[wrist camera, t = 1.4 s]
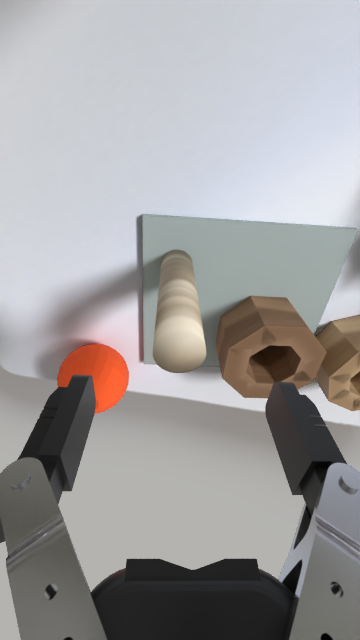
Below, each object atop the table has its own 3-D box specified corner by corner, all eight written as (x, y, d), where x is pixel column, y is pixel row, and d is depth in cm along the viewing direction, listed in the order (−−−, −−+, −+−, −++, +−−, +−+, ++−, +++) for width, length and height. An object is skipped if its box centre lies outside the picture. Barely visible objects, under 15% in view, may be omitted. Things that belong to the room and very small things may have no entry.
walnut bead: (224, 294, 26) (234, 324, 22) (311, 298, 26) (338, 328, 22) (212, 361, 31) (218, 396, 26) (286, 364, 31) (304, 399, 27)
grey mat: (143, 213, 22) (142, 215, 22) (354, 227, 23) (358, 229, 23) (144, 360, 31) (143, 363, 31) (297, 365, 32) (299, 369, 32)
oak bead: (307, 327, 29) (329, 358, 25) (393, 307, 28) (432, 336, 24) (308, 381, 34) (328, 415, 29) (382, 366, 32) (413, 399, 28)
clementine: (114, 390, 34) (101, 443, 28) (58, 369, 32) (32, 422, 26) (143, 346, 30) (136, 397, 24) (83, 320, 28) (58, 368, 22)
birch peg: (161, 248, 23) (152, 330, 13) (194, 250, 23) (209, 333, 13) (160, 278, 25) (152, 372, 15) (191, 280, 25) (203, 373, 15)
